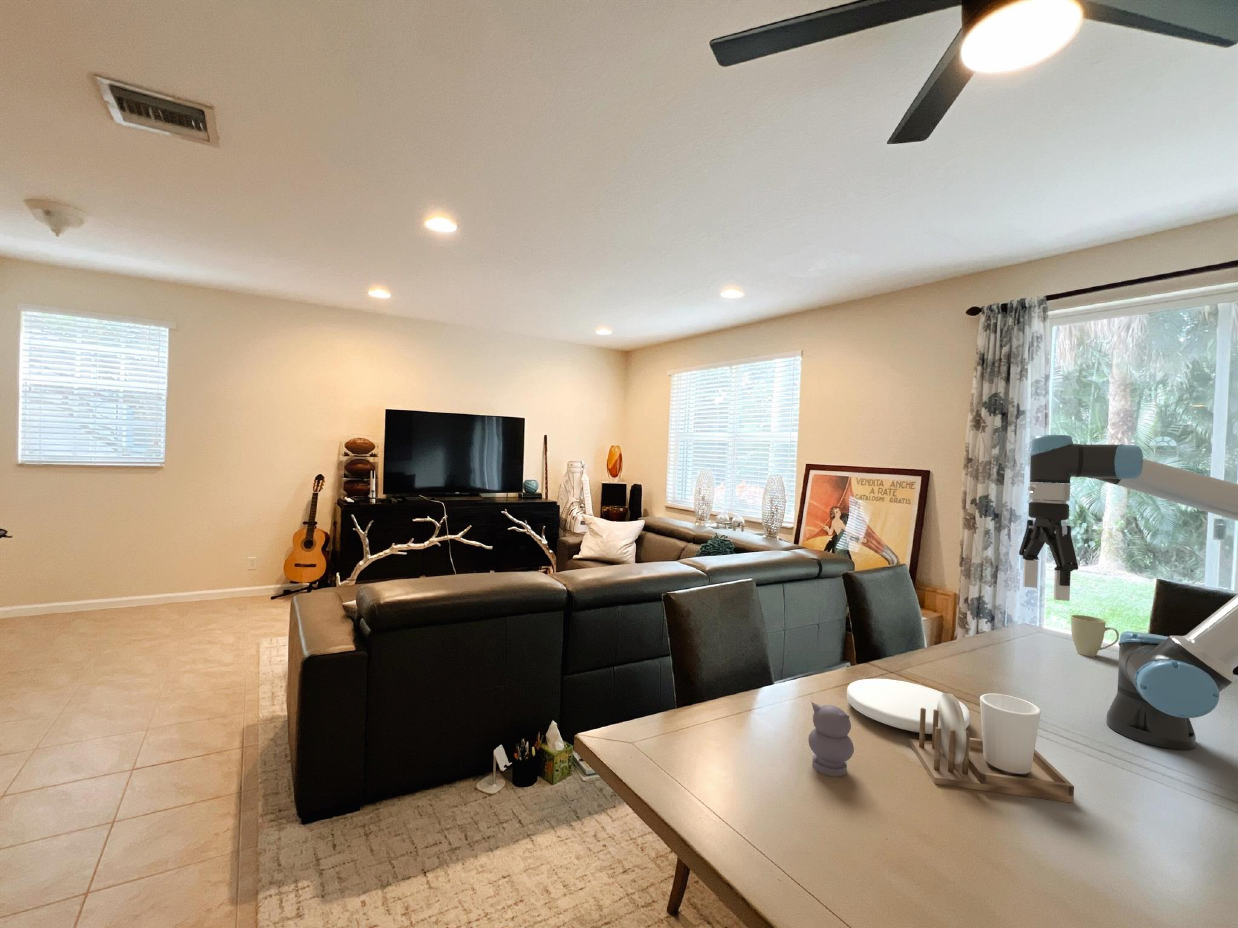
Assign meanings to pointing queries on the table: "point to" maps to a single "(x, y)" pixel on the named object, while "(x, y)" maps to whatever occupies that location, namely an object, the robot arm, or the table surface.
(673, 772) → the table surface
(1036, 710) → the cup
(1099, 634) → the mug
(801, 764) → the table surface
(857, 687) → the plate
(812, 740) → the cat figurine
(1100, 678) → the table surface
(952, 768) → the rack
